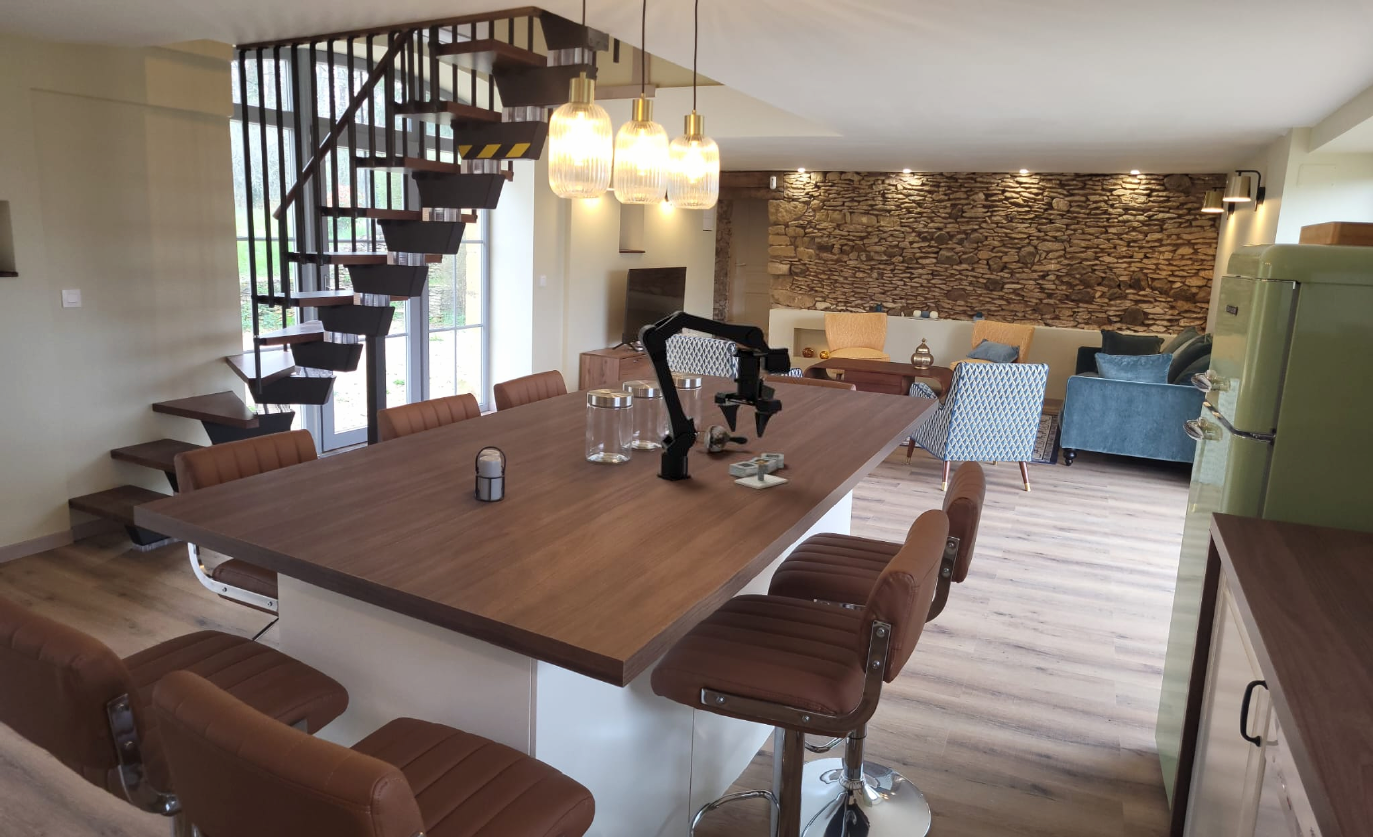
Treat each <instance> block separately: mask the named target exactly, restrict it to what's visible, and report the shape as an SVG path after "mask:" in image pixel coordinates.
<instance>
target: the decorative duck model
mask: <svg viewBox="0 0 1373 837" xmlns="http://www.w3.org/2000/svg"><path fill="white" fill-rule="evenodd" d="M696 431H697V432H698V433H696V441H695V443H694V447H696V446H697V445H698V444H699V443H700V444H703V445H704V448H705V450H706V451H707V452H709V453H710V452H714V453H715V452H720V451H722V450H723V449H724V448H725V447H726V445H727V444H728V443H735V444H738V445H741V446H742V445H746V444H747V443H748V438H747V437H745V436H743V435H739V436H733V435H730V434H728V432H727V430H726V429H725V428H724V427H722V426H720V425H717V424H716V425H715V424H714V425H710V426H709V427H708V428H706V430H700V428H699V424H697V428H696ZM700 432H701V433H702V432H703V433H704V438H703V441H699V440H698V434H699V433H700Z"/></svg>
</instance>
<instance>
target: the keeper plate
mask: <svg viewBox="0 0 1373 837" xmlns="http://www.w3.org/2000/svg"><path fill="white" fill-rule="evenodd" d="M764 470H765V461H758V475H755V476H751V477H747V478H739V479H734V484H738V485H742V486H745V487H749V488H753V489H756V490H760V489H764V488H768V487H772V486H777V485H781V484H784V483H788V479H786V478H783V477H778V476H775V475H770V474H766V473H764Z"/></svg>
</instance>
